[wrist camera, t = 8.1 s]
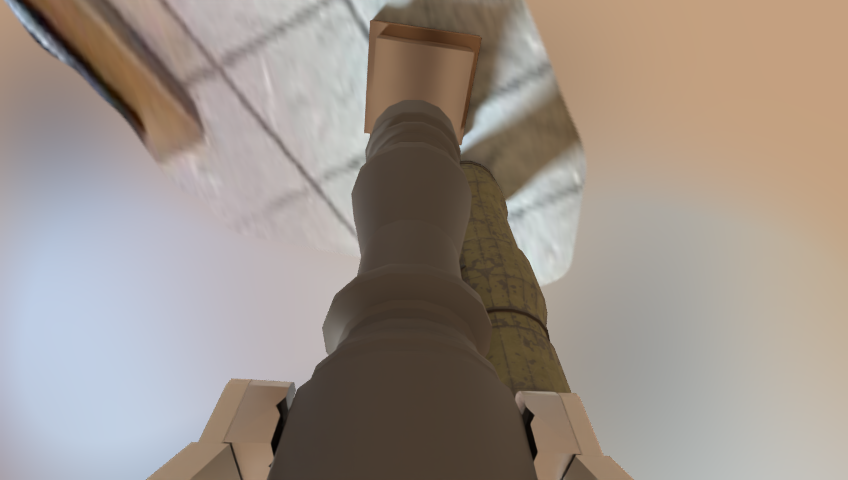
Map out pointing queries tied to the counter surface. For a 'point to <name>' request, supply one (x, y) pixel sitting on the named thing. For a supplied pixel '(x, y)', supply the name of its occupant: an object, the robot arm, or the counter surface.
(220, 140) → the counter surface
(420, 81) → the walnut stand
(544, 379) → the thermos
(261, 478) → the robot arm
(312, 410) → the candle holder
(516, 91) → the counter surface
